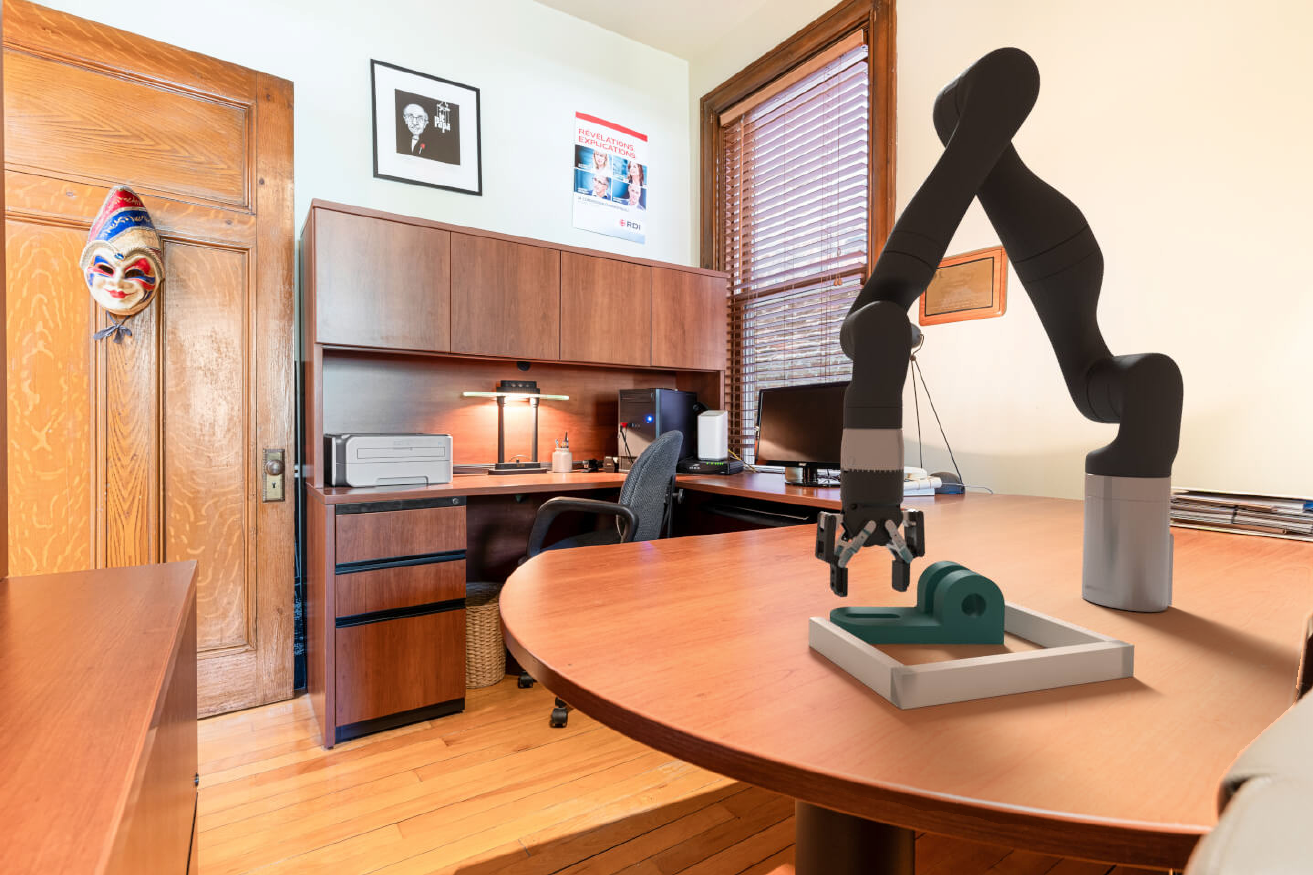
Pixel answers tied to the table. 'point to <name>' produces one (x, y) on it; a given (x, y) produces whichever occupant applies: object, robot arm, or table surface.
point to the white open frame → (982, 662)
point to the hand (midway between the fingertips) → (870, 593)
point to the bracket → (934, 612)
